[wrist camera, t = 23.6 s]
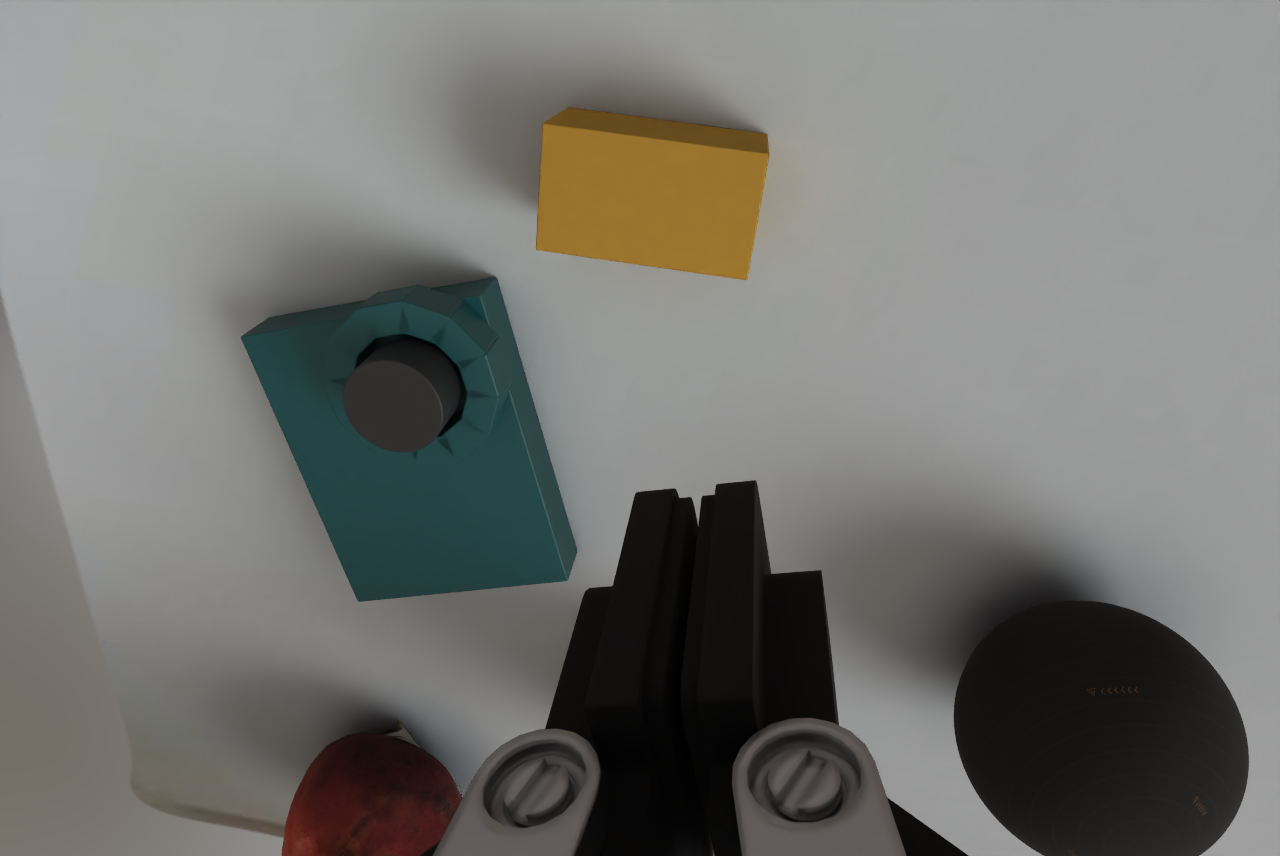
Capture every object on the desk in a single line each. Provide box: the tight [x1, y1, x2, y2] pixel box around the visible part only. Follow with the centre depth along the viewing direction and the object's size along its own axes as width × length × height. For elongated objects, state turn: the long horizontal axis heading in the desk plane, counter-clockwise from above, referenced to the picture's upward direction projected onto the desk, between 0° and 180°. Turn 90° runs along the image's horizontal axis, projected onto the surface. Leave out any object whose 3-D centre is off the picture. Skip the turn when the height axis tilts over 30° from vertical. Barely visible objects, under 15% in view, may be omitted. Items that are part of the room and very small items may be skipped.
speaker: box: [954, 601, 1249, 856], centre depth 33 cm, size 10×10×10 cm
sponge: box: [536, 107, 769, 280], centre depth 28 cm, size 7×4×4 cm, turn 84°
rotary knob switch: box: [241, 277, 577, 602], centre depth 34 cm, size 14×10×4 cm
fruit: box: [282, 721, 463, 856], centre depth 42 cm, size 9×10×10 cm
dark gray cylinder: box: [343, 339, 461, 453], centre depth 30 cm, size 4×4×2 cm
